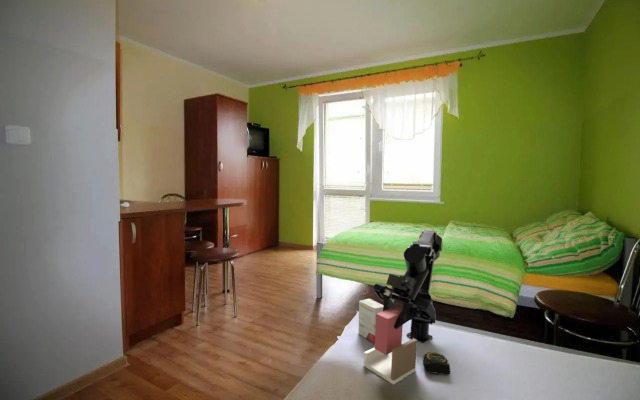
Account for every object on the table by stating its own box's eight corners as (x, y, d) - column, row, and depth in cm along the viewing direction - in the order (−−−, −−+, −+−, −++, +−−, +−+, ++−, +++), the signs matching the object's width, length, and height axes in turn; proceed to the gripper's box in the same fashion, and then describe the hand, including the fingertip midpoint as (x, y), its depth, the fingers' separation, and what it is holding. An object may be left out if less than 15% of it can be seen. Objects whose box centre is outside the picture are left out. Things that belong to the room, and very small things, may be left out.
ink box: (385, 340, 104) (387, 306, 104) (374, 344, 101) (376, 309, 101) (367, 330, 112) (369, 297, 111) (357, 333, 109) (358, 300, 108)
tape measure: (423, 374, 86) (424, 361, 86) (421, 361, 93) (422, 349, 93) (450, 379, 85) (451, 366, 85) (446, 365, 91) (446, 353, 91)
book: (389, 341, 91) (391, 307, 91) (401, 347, 88) (403, 312, 88) (374, 348, 87) (376, 313, 86) (386, 355, 84) (387, 318, 83)
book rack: (385, 354, 96) (386, 325, 95) (415, 370, 88) (417, 339, 87) (363, 365, 89) (365, 335, 89) (393, 384, 81) (395, 351, 81)
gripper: (377, 257, 97) (351, 299, 90) (432, 271, 82) (406, 323, 76) (391, 277, 102) (367, 318, 96) (445, 294, 88) (422, 344, 81)
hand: (388, 325), depth 87 cm, fingers closed on book, 4 cm apart
